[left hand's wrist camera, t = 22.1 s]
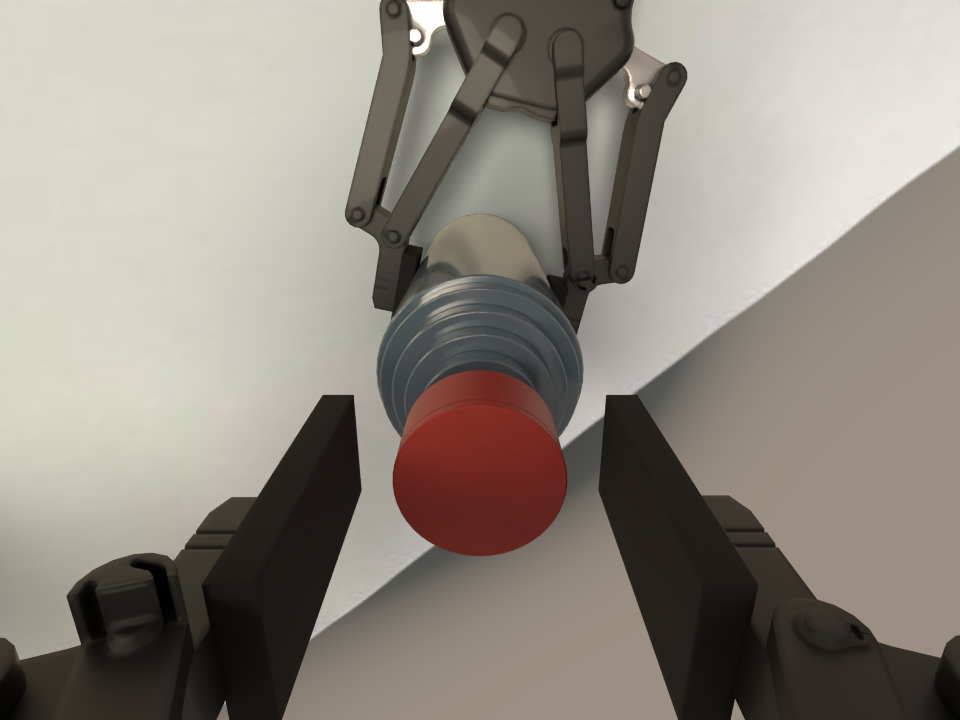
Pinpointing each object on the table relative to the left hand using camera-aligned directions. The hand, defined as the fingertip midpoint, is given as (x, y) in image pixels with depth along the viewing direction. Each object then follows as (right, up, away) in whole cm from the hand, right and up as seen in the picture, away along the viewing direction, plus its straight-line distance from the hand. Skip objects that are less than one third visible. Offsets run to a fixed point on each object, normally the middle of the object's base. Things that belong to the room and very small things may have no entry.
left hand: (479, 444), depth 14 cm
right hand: (-1, +1, +17) cm, 17 cm away
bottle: (0, +8, +21) cm, 22 cm away
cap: (0, -1, -1) cm, 2 cm away
